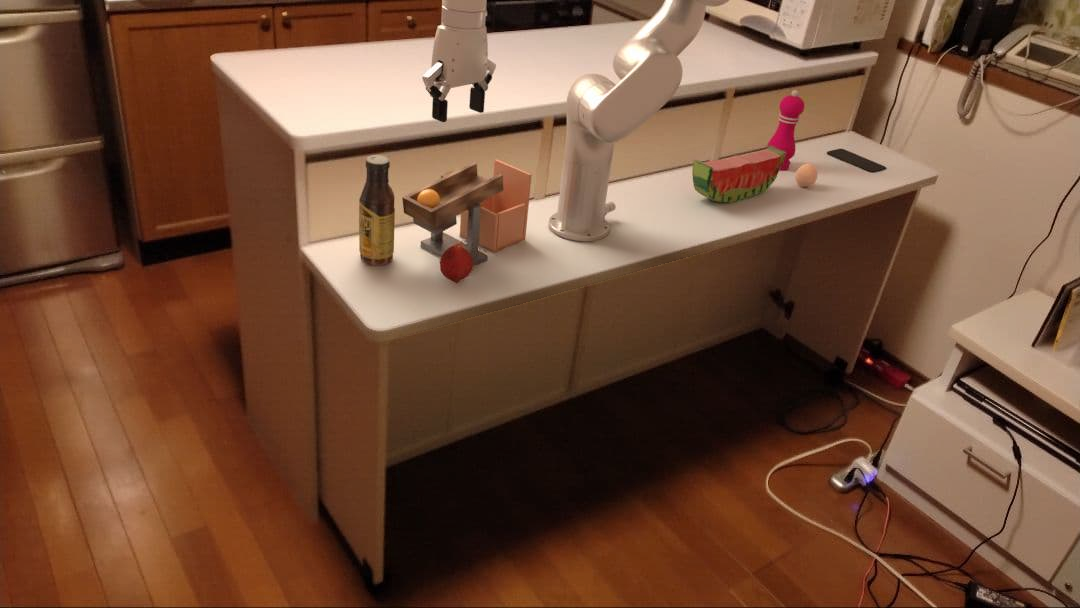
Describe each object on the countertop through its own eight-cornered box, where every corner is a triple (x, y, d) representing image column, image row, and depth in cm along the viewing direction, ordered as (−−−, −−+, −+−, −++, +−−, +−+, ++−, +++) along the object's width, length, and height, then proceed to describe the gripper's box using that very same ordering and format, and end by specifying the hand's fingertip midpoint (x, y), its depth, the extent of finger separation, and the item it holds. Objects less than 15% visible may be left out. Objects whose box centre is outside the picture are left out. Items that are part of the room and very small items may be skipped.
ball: (429, 204, 150) (429, 183, 148) (444, 211, 148) (445, 191, 146) (412, 210, 148) (412, 189, 146) (427, 217, 146) (428, 196, 144)
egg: (809, 182, 208) (815, 160, 205) (817, 191, 204) (823, 168, 201) (789, 181, 208) (795, 159, 205) (797, 190, 203) (803, 167, 200)
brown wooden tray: (460, 181, 163) (459, 155, 160) (504, 201, 157) (503, 175, 154) (390, 216, 153) (387, 189, 149) (434, 239, 146) (431, 212, 143)
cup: (492, 223, 171) (496, 159, 164) (525, 239, 166) (531, 174, 159) (459, 236, 165) (463, 169, 158) (493, 253, 160) (498, 185, 153)
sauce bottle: (355, 253, 155) (353, 152, 145) (389, 249, 157) (389, 149, 147) (364, 270, 150) (362, 166, 140) (398, 266, 152) (399, 163, 142)
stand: (443, 237, 163) (445, 182, 157) (487, 260, 157) (491, 203, 151) (420, 246, 159) (422, 189, 153) (464, 270, 153) (467, 212, 147)
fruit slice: (759, 183, 205) (768, 144, 200) (778, 192, 201) (789, 153, 196) (683, 201, 191) (691, 159, 186) (702, 211, 187) (711, 170, 181)
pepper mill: (795, 171, 214) (816, 94, 204) (770, 171, 212) (790, 94, 202) (781, 160, 220) (801, 85, 210) (757, 160, 218) (776, 85, 208)
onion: (449, 293, 146) (451, 252, 142) (433, 278, 149) (434, 238, 145) (477, 285, 149) (480, 246, 145) (461, 271, 153) (463, 232, 149)
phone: (872, 171, 218) (825, 151, 228) (871, 174, 219) (824, 154, 229) (888, 167, 222) (841, 147, 232) (887, 170, 223) (840, 150, 233)
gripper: (482, 9, 151) (476, 101, 160) (410, 18, 139) (408, 118, 148) (513, 18, 147) (505, 112, 156) (441, 28, 136) (437, 130, 144)
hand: (458, 115), depth 152 cm, fingers open, 9 cm apart
